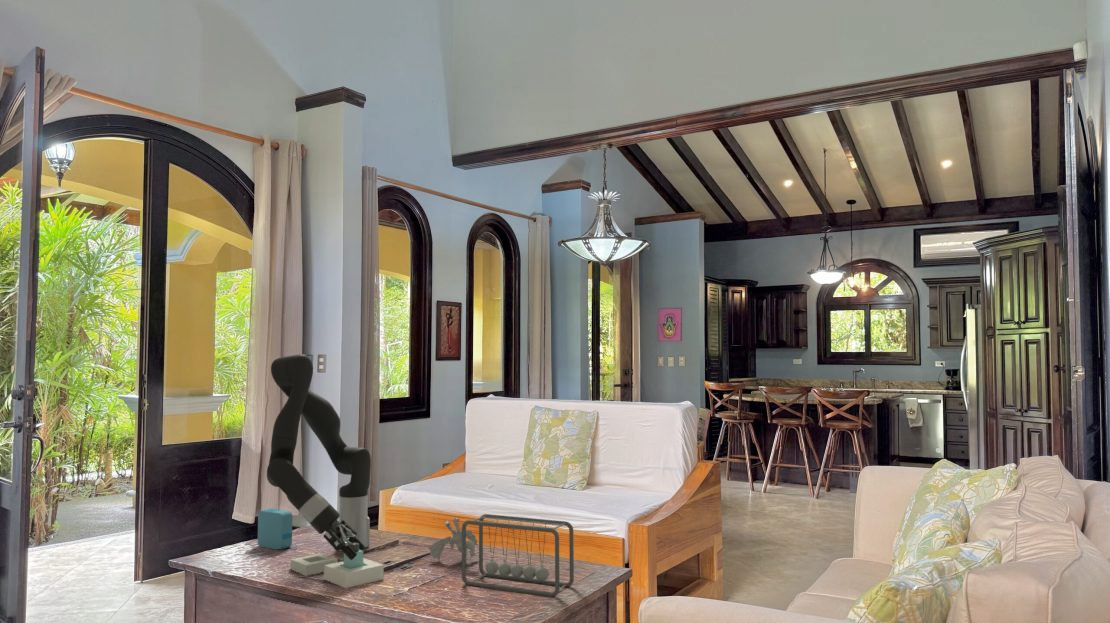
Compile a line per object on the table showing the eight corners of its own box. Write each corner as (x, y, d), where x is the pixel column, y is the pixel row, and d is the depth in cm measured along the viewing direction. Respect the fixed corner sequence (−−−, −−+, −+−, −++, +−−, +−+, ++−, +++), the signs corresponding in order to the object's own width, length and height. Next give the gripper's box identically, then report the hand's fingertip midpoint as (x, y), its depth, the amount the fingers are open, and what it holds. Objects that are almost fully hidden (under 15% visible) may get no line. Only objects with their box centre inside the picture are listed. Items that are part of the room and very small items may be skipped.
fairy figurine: (483, 559, 227) (462, 518, 226) (437, 577, 233) (416, 537, 233) (496, 544, 236) (475, 505, 235) (450, 561, 242) (431, 523, 242)
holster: (321, 563, 234) (321, 553, 234) (337, 569, 226) (337, 559, 227) (290, 569, 227) (290, 559, 227) (306, 576, 219) (306, 565, 220)
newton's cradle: (460, 584, 210) (461, 519, 212) (480, 575, 220) (480, 513, 221) (558, 598, 198) (557, 529, 199) (574, 587, 207) (574, 521, 208)
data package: (292, 547, 254) (292, 511, 255) (281, 550, 250) (281, 513, 251) (268, 543, 260) (268, 508, 261) (257, 546, 256) (257, 510, 257)
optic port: (361, 571, 224) (361, 557, 225) (383, 579, 216) (383, 564, 216) (324, 579, 216) (324, 565, 216) (345, 588, 207) (345, 573, 208)
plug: (355, 576, 219) (356, 541, 219) (363, 579, 216) (363, 543, 216) (343, 579, 216) (343, 543, 216) (350, 582, 213) (350, 546, 214)
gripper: (320, 508, 210) (361, 550, 209) (335, 499, 224) (374, 538, 224) (301, 528, 210) (342, 569, 209) (317, 517, 224) (356, 556, 223)
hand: (358, 553), depth 216 cm, fingers open, 8 cm apart
